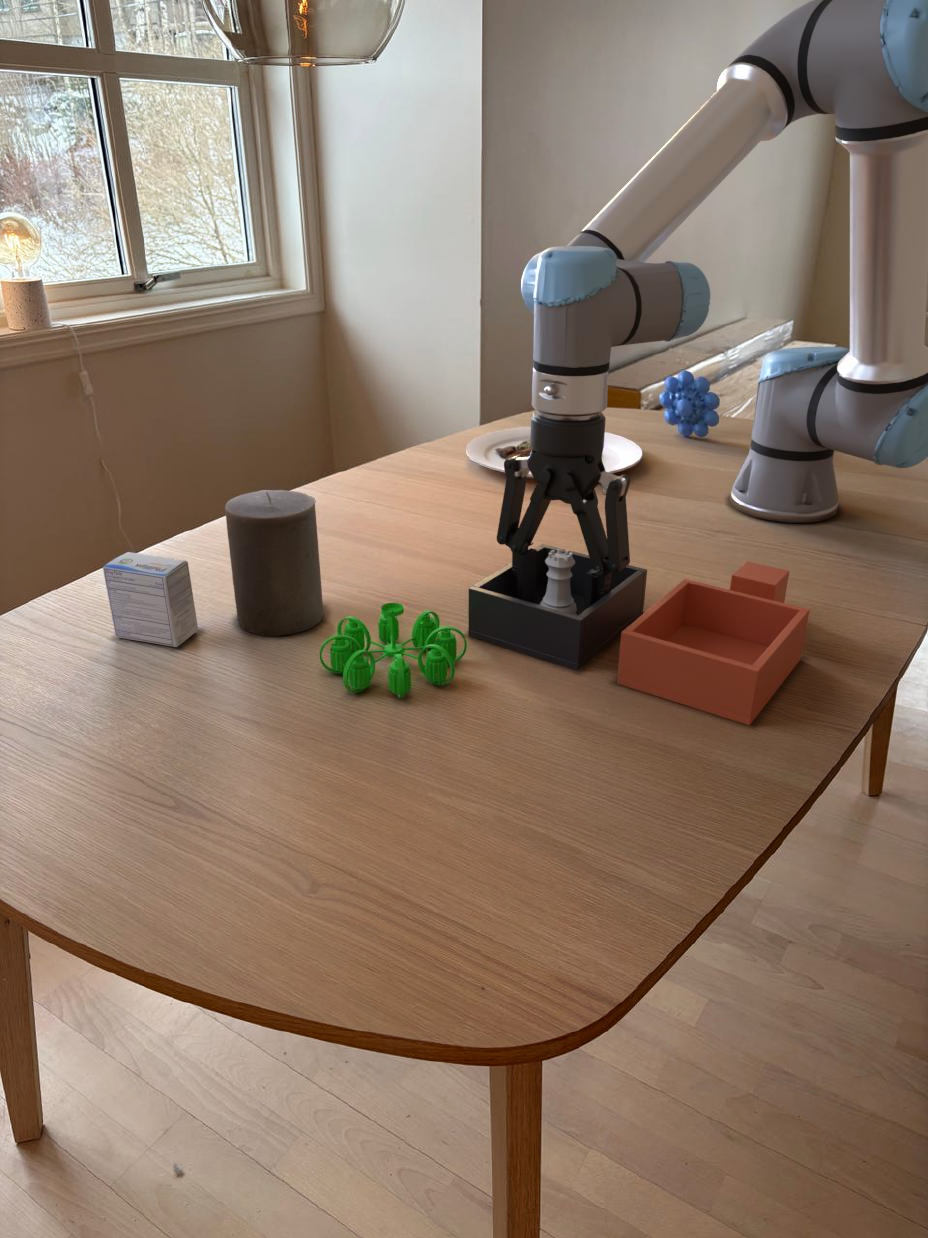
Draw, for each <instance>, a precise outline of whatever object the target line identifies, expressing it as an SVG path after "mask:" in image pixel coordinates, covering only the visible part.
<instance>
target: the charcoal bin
mask: <svg viewBox="0 0 928 1238" xmlns="http://www.w3.org/2000/svg"><path fill="white" fill-rule="evenodd" d="M534 549H536V550H537V556H536V582H535V602H534V603H530V602H527V601H523V600H520V599H517V583H518V579H515V578H513V576H512V561H511V562H510V563H508V564H507V565H504V566H503V567H502V568H499V569H498V570H497V571H495V572H494V573H492V574H490V575H488V576H486V577H485V578H483V579H482V580H480V581H479V582H476V583H474V584H473V585H472V586H470V587H469V588H468V627H467V628H468V631H467V635H468V638H469V637H470V638H472V639H476V640H478V641H481V642H485V643H489V644H491V645H494V646H497V647H501V648H504V649H507V650H510V651H513V652H517V653H520V654H522V655H526V656H528V657H529V656H530V657H533V658H536V659H539V660H542V661H545V662H548V663H551V664H553V665H554V664H555V665H557V666H561V667H563V668H567V669H570V670H574V671H577V672H578V671H580V670H582V668H583V667H584V666H586V665H587V664H588V663H590V661H592V660H593V659H594V658H595V657H596V656H597V655H599V654H600V653H601V652H602V651H603V650H605V648H607V647H608V646H609V645H611V644H612V643H613V642H614V641H615V640H617V638H619V637H621V632H622V631H623V630H625V629H626V628H627V627H628V626H629V625H631V624H632V623H633V622H634V621H635V620H637V619H638V618H639V617H640V616H641V615H642V614H644V609H645V599H646V590H647V589H646V588H647V577H648V568H647V569H646V568H644V567H643V568H642V567H639V566H635V565H630V564H629V565H627V566H626V567H625V568H623V569H622V570H621V571H619V572H618V573H613V572H612V573H611V584H610V592H609V593H608V594H606V595H605V596H604V597H602V598H601V599H600V600H598V601H597V602H596V603H594V604H593V605H592V606H591V607H589V608H588V609H587V610H585V611H584V600H585V585H586V573H587V572H589V571H590V570H592V569H593V567H592V563H591V560H590V557H589V554H586V553H582V552H577V551H574V550H570V549H566V548H560V547H557V546H553V545H548V544H545V543H541V544H540V545H538V546H535V548H534ZM557 549H562V553H565V550H568V551H570V553H572V558H573V559H574V560H575V564H574V565H573V566H572V567H571V570H570V572H571V573H572V577H571V578H570V589H571V596H572V598H573V600H574V603H575V604H576V607H577V612H576V614H577V616H576V615H573V614H569V613H566V612H562V611H559V610H555V609H552V608H548V607H544V606H541V605H539V604H540V603H541V601H543V597H544V596H545V594H546V590H547V585H548V576H547V572H548V571H549V567H548V566H547V564H546V563H545V560H546V559H547V558H548V557H549V553H550V551H551V550H555V553H557Z"/></svg>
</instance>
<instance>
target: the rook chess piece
mask: <svg viewBox="0 0 928 1238" xmlns="http://www.w3.org/2000/svg"><path fill="white" fill-rule="evenodd" d="M562 549H563V548H562ZM562 549H557V553H555V550H551V551H550V553H549V557H548V558H547V559H546V560H545V563H546V564H547V566H548V567H549V571H548V572H547V576H548V585H547V590H546V594H545V596H544V597H543V601H541V603H540V604H539V605H541V606H544V607H548V608H552V609H555V610H559V611H562V612H566V613H569V614H573V615H576V616H577V614H576V612H577V607H576V604H575V603H574V600H573V598H572V596H571V589H570V578H571V577H572V573H571V572H570V570H571V567H572V566H573V565H574V564H575V560H574V559H573V558H572V553H570V551H571V550H570V551H568V550H569V549H566V550H565V553H562Z"/></svg>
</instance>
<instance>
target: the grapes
mask: <svg viewBox="0 0 928 1238" xmlns="http://www.w3.org/2000/svg"><path fill="white" fill-rule="evenodd" d="M663 385H664V388H665V390H664V391H661V392H660V394H659V395H658V402H659V404H660V405H661V407H663V408H665V409H666V410H665V411H664V413H663V418H664V420H665V422H666V423H667V424H668V425H671V426H676V425H677V426H676V428H677V429H676V430H677V432H678V434H680V435H681V436H683V437H690V436H691V435H692V434H693V433H694V435H695V436H696V437H698V438H704V437H706V436H707V435H708V434H709V427H711V428H714V427H716V426H718V424H719V423H720V415H719V413H718V412H717V411H716V410H717V409H718V408H719V407H720V404H721V399H720V397H719V395H718V394H717V393H715V392H713V391H710V389H711V383H710V381H709V380H708V378H707V377H704V376H701V375H700V376H697V377H696V378H695V376H694V374H693V373H692V372H691V371H689V370H686V369H684V370H681V371H680V372H679V373H678V376H677V377H676V376H672V375H670V376H667V377H666V378H665V379H664V384H663Z"/></svg>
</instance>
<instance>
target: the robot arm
mask: <svg viewBox="0 0 928 1238" xmlns="http://www.w3.org/2000/svg"><path fill="white" fill-rule="evenodd" d="M814 115H834V117H835V118H834V119H835V120H834V121H835V122H834V124H835V126H834V127H835V141H836V142H837V143H838V144H840V145H841V146H842V147H843V148H844V149H845V150H847V151H848V153H849V348H848V347H843V346H802V347H799V346H798V347H788V348H781V349H777V350H773V351H771V352H769V353H768V354H767V355H765V357H764V358H763V360H762V364H761V368H760V369H761V370H760V375H759V378H758V379H757V391H756V397H755V398H756V399H755V406H754V414H753V421H752V422H753V423H752V430H751V437H750V439H751V440H750V446H749V452H748V454H747V456H746V458H745V460H744V463H743V465H742V467H741V469H740V470H739V472H738V474H737V477H736V479H735V481H734V483H733V485H732V488H731V492H730V498H729V499H730V502H729V503H730V504H731V505H732V507H734V508H735V509H736V510H737V511H739V512H742V513H743V514H746V515H749V516H751V517H754V518H757V519H761V520H766V521H773V522H780V523H792V524H793V523H794V524H800V523H801V524H803V523H804V524H806V523H816V522H821V521H825V520H828V519H830V518H833V517H834V516H835V515H836V514H837V511H838V507H839V491H838V486H837V480H836V474H835V467H834V453H835V452H838V453H841V454H844V455H849V456H852V457H855V458H860V459H863V460H867V461H870V462H873V463H874V464H875V465H878V466H888V467H892V468H896V469H909V468H912V467H915V466H917V465H919V464H921V463H922V462H923V461H924V460H926V459H927V458H928V346H927V345H925V341H926V340H925V338H926V337H925V336H926V315H927V297H928V0H810V1H808V2H806V3H804V4H802V5H801V6H799V7H797V8H795V9H794V10H792V11H790V12H789V13H788V14H786V15H785V16H783V17H782V18H781V19H779V20H778V21H776V23H773V25H772V26H770V27H769V28H768V29H766V30H765V31H764V32H763V33H762V34H760V35H759V36H758V37H757V38H756V39H754V41H752V42H751V43H750V44H749V45H748V46H747V47H746V48H745V49H744V50H743V51H742V52H741V53H739V55H738V56H737V57H735V58H734V60H733V61H732V62H731V63H730V64H729V65H728V66H727V67H726V68H725V69H724V70H723V71H722V72H721V74H720V76H719V78H718V81H717V86H716V92H714V93H713V94H712V95H711V96H710V97H709V98H708V100H707V101H705V103H704V104H703V105H702V106H701V107H700V108H699V109H698V110H697V111H696V112H695V113H694V114H693V115H692V116H691V117H690V118H689V119H688V121H686V123H684V124H683V126H681V128H680V129H678V131H677V132H676V133H674V135H672V137H671V138H670V139H669V140H668V141H667V142H666V143H665V144H664V145H663V146H662V147H661V148H660V149H659V150H658V152H656V154H654V155H653V156H652V158H651V159H649V160H648V162H647V163H646V164H644V165H643V167H642V168H641V169H640V170H639V171H638V172H637V173H636V174H635V175H634V176H633V177H632V178H631V179H630V180H629V182H627V184H625V186H624V187H623V188H621V190H620V191H619V192H618V193H617V194H616V195H615V196H614V197H613V198H612V199H611V200H610V201H609V202H608V203H607V204H606V205H605V206H604V207H603V208H602V209H601V210H600V211H599V212H598V214H596V215H595V217H594V218H593V219H592V220H591V221H590V222H589V223H588V224H587V225H586V226H585V227H584V228H583V229H582V230H581V231H580V232H579V233H578V234H577V235H576V236H575V237H573V239H572V240H571V241H570V242H569V243H568V244H567V245H562V246H561V245H560V246H559V245H558V246H552V247H548V248H546V249H545V250H543V251H540V252H539V253H536V254H535V255H534V256H532V257H531V259H530V260H529V261H528V263H527V264H526V266H525V268H524V270H523V272H522V276H521V280H520V281H521V282H520V291H521V296H522V299H523V302H524V304H525V307H527V309H528V310H529V311H530V312H531V313H532V314H533V355H532V357H533V358H532V360H533V361H532V380H531V381H532V384H531V385H532V388H531V407H532V408H533V410H535V411H533V413H532V414H531V416H530V427H531V432H530V445H531V448H532V451H531V454H530V456H529V457H524V456H523V455H520V454H519V455H517V456H514V457H512V458H510V459H508V460H506V461H505V462H504V469H505V473H504V475H505V476H504V477H505V485H504V491H503V498H502V502H501V509H500V514H499V515H500V516H499V521H498V527H497V534H496V542H497V543H498V544H499V545H502V546H503V545H505V546H506V547H508V548H509V549H510V551H511V562H512V576H513V578H515V579H518V583H517V599H520V600H523V601H527V602H530V603H534V602H535V582H536V556H537V550H536V549H535V548H532V547H531V546H532V545H534V542H533V540H534V539H535V536H536V534H537V531H538V529H539V528H540V525H541V523H542V521H543V519H544V517H545V515H546V512H547V510H548V509H549V506H550V504H551V502H552V501H561V502H562V503H564V504H568V505H570V508H571V510H572V513H573V514H574V515H575V516H576V518H577V521H578V524H579V527H580V532H581V534H582V537H583V540H584V543H585V548H586V550H587V553H588V554H587V555H589V557H590V560H591V563H592V567H593V569H592V570H590V571H589V572H587V573H586V585H585V600H584V611H585V610H587V609H588V608H589V607H591V606H592V605H593V604H594V603H596V602H597V601H598V600H600V599H601V598H602V597H604V596H605V595H606V594H608V593H609V592H610V584H611V573H612V572H613V573H618V572H619V571H621V570H622V569H623V568H625V567H626V566H627V565H630V563H631V556H630V555H631V553H630V541H629V540H630V539H629V527H628V525H629V523H628V512H627V511H628V509H627V494H628V491H629V488H630V483H631V478H630V476H629V475H627V474H621V475H620V476H619V475H616V474H615V473H609V472H606V471H605V467H604V465H603V462H602V452H603V448H604V435H605V432H606V420H607V418H606V416H605V415H604V413H603V412H604V411H605V410H606V409H607V408H608V391H609V390H608V388H609V370H610V364H611V363H610V361H611V353H612V348H614V347H621V346H629V345H637V344H646V343H655V342H663V341H664V342H666V343H667V342H671V341H673V340H676V339H677V340H678V339H681V338H685V337H689V336H691V335H693V334H694V333H696V332H697V331H698V330H699V329H700V328H701V327H703V325H704V323H705V321H706V320H707V317H708V315H709V311H710V305H711V288H710V283H709V282H708V279H707V277H706V275H705V273H704V272H703V271H702V269H700V268H699V267H698V266H697V265H695V264H694V263H691V262H676V261H672V260H666V261H665V262H658V263H657V262H655V263H654V262H647V261H648V259H649V258H651V256H652V255H653V254H654V253H655V252H656V251H657V250H658V249H659V248H660V247H661V246H662V245H663V244H664V243H665V242H666V240H668V239H669V237H670V236H672V234H673V233H674V232H675V231H676V230H677V229H678V228H679V227H680V226H681V225H682V224H683V223H684V222H685V221H686V220H687V219H688V217H689V216H691V214H693V213H694V211H695V210H696V209H697V208H698V207H699V206H700V205H701V204H702V203H703V202H705V200H706V198H708V197H709V196H710V195H711V193H713V192H714V191H715V190H716V188H717V187H718V186H719V185H720V184H722V182H723V181H725V179H726V178H727V177H728V176H729V175H730V174H731V173H732V171H734V169H735V168H737V167H738V166H739V164H740V163H742V162H743V160H745V158H746V157H747V156H748V155H749V154H750V153H751V152H752V151H753V150H754V149H755V148H756V147H757V146H758V144H759V143H761V142H767V141H771V140H774V139H776V138H777V137H778V136H779V135H780V134H781V133H783V131H784V130H785V129H786V128H787V127H788V126H789V125H790V124H792V123H794V122H796V121H798V120H800V119H803V118H807V117H810V116H814ZM529 471H530V472H531V474H532V475H533V477H534V481H535V486H534V487H533V488H534V489H533V490H532V493H531V495H530V498H529V501H530V502H529V504H528V506H527V507H526V510H525V512H524V515H523V517H522V519H521V515H522V510H523V504H524V498H525V493H526V487H527V483H528V482H527V481H528V478H527V475H528V474H529ZM599 484H601V486H602V491H601V493H602V495H603V496H605V497H604V516H605V526H606V527H605V528H604V524H603V521H602V517H601V514H600V511H599V508H598V505H599V498H598V495H597V492H596V487H598V486H599ZM605 529H606V530H605ZM529 547H530V548H529Z"/></svg>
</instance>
